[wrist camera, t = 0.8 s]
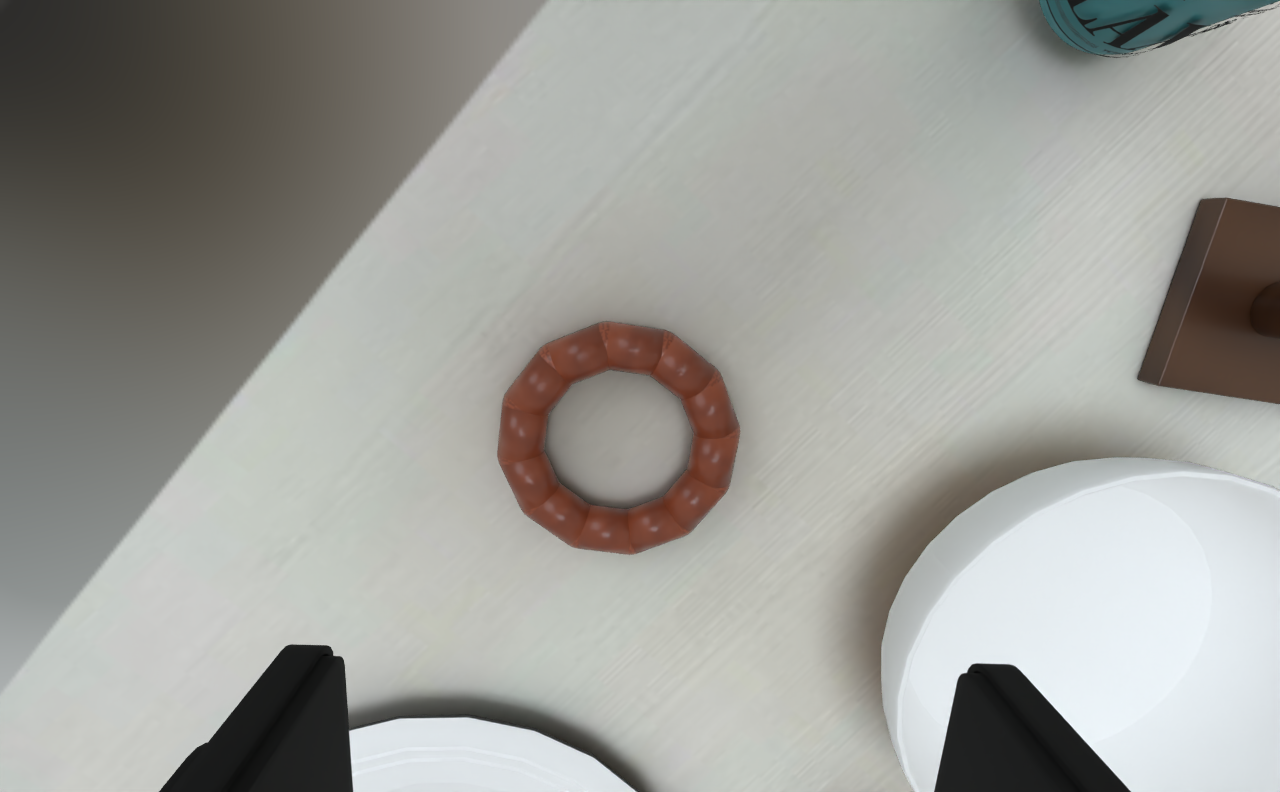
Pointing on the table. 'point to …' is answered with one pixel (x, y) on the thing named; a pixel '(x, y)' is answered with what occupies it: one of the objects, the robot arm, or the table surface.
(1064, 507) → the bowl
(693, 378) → the ring
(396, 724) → the plate
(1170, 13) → the beverage bottle
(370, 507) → the table surface
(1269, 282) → the peg post
